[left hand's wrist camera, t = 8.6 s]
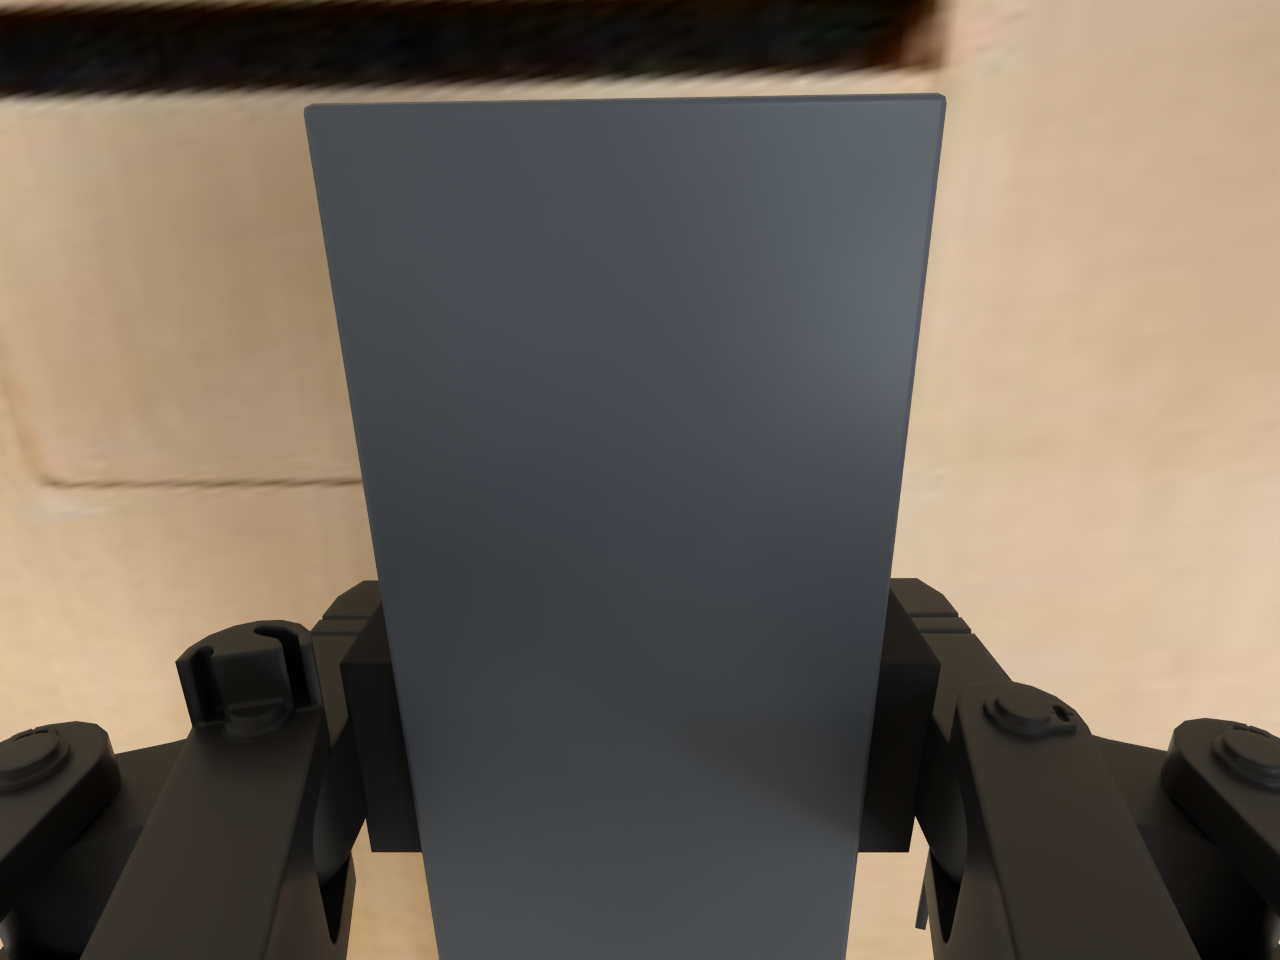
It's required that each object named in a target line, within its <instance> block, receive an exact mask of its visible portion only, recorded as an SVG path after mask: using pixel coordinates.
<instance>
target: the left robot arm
mask: <svg viewBox="0 0 1280 960" xmlns="http://www.w3.org/2000/svg"><path fill="white" fill-rule="evenodd" d="M175 663H176V667H177V670H178V674H179V678H180V682H181V685H182V689H183V693H184V697H185V700H186V704H187V708H188V712H189V715H190V719H191V723H192V729H191V731H190V733H189V735H188V737H187V739H183V740H180V741H176V742H172V743H167V744H162V745H157V746H153V747H148V748H143V749H138V750H133V751H128V752H123V753H119V754H114V752H113V749H112V745H111V742H110V739H109V736H108V733H107V732H106V731H105V730H103V729H102V728H101V727H100V726H98V725H97V724H93V723H86V722H79V721H74V722H66V723H58V724H50V725H45V726H40V727H36V728H35V729H33V730H32V729H29V730H27V731H24V732H21V733H18V734H16V735H14V736H12V737H11V738H9V739H7V740H5V741H2V742H0V938H1V941H2V943H3V945H4V946H3V947H2V948H1V950H0V960H346V956H347V948H348V940H349V932H350V924H351V917H352V909H353V901H354V893H355V885H356V877H355V870H354V863H353V858H352V852H351V849H352V847H353V845H354V843H355V840H356V838H357V836H358V834H359V832H360V829H361V827H362V825H363V823H364V821H365V818H366V822H367V828H368V834H369V839H370V845H371V851H372V852H422V848H421V841H420V835H419V829H418V823H417V817H416V810H415V804H414V798H413V792H412V785H411V779H410V773H409V767H408V760H407V754H406V748H405V742H404V735H403V729H402V723H401V717H400V710H399V704H398V698H397V692H396V685H395V679H394V673H393V667H392V660H391V654H390V648H389V642H388V636H387V629H386V623H385V617H384V611H383V604H382V598H381V592H380V586H379V581H362V582H361V583H359V584H358V585H356V586H354V587H353V588H351V589H350V590H348V591H346V592H345V593H343V594H342V595H340V596H338V597H337V599H336V600H335V601H334V602H333V604H332V605H331V606H330V607H329V609H328V610H327V611H326V612H325V614H324V615H323V619H322V620H319V621H318V622H317V624H316V625H315V626H314V628H313V629H312V630H311V631H309V630H307V629H306V628H305V627H304V626H302V625H301V624H298V623H294V622H289V621H285V620H267V621H256V622H251V623H246V624H241V625H236V626H233V627H230V628H227V629H225V630H222V631H219V632H217V633H214V634H212V635H209V636H207V637H206V638H204V639H202V640H201V641H199V642H197V643H196V644H194V645H192V646H191V647H189V648H188V649H187V650H186V651H185V652H184V653H183V654H182V655H181V656H180V657H179V659H178V660H177V661H176V662H175ZM915 816H916V818H917V820H918V823H919V825H920V827H921V829H922V831H923V833H924V836H925V838H926V840H927V842H928V844H929V852H928V858H927V863H926V868H925V874H924V879H923V885H922V890H921V895H920V901H919V906H918V911H917V919H916V926H915V928H919V929H923V930H925V929H926V924H927V918H928V915H929V923H930V931H931V939H932V946H933V954H934V960H1280V945H1279V943H1278V942H1279V940H1280V738H1278V737H1276V736H1274V735H1272V734H1270V733H1269V732H1267V731H1265V730H1262V729H1259V728H1256V727H1253V726H1247V725H1246V724H1243V723H1238V722H1234V721H1226V720H1218V719H1210V718H1202V719H1194V720H1187V721H1184V722H1183V723H1182V724H1180V725H1179V726H1178V727H1177V728H1175V729H1174V732H1173V735H1172V738H1171V741H1170V744H1169V747H1168V751H1163V750H1158V749H1153V748H1148V747H1144V746H1139V745H1134V744H1129V743H1124V742H1119V741H1114V740H1109V739H1105V738H1102V737H1098V736H1094V735H1092V734H1091V732H1090V730H1089V728H1088V726H1087V724H1086V723H1085V722H1084V721H1083V719H1082V718H1081V717H1080V716H1079V714H1078V713H1077V712H1076V710H1074V709H1073V708H1071V707H1070V706H1069V705H1067V704H1066V703H1064V702H1063V701H1061V700H1060V699H1059V698H1057V697H1056V696H1053V695H1051V694H1049V693H1047V692H1044V691H1042V690H1040V689H1038V688H1035V687H1033V686H1029V685H1025V684H1021V683H1017V682H1013V681H1012V680H1011V679H1010V678H1009V676H1008V675H1007V674H1006V673H1005V671H1004V670H1003V669H1002V668H1001V666H1000V665H999V664H998V663H997V661H996V660H995V659H994V658H993V656H992V655H991V654H990V653H989V651H988V650H987V649H986V648H985V646H984V645H983V644H982V643H981V641H980V640H979V639H978V638H977V636H976V635H975V634H971V629H970V628H969V626H968V625H967V624H966V623H965V621H964V620H963V619H962V618H961V617H958V613H957V611H956V610H955V609H954V608H953V606H952V605H951V604H950V603H949V601H948V600H947V599H946V598H945V596H944V595H943V594H941V593H940V592H938V591H937V590H935V589H933V588H932V587H930V586H928V585H927V584H925V583H924V582H922V581H920V580H919V579H917V578H890V585H889V594H888V602H887V611H886V619H885V628H884V636H883V644H882V653H881V661H880V670H879V678H878V687H877V695H876V704H875V712H874V721H873V729H872V737H871V746H870V754H869V763H868V771H867V780H866V788H865V797H864V805H863V814H862V822H861V831H860V839H859V847H858V852H909V848H910V842H911V836H912V831H913V825H914V819H915Z"/></svg>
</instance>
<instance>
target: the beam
mask: <svg viewBox="0 0 1280 960" xmlns="http://www.w3.org/2000/svg"><path fill="white" fill-rule="evenodd" d="M945 112H946V98H945V96H943V95H941V94H939V93H907V94H850V95H793V96H735V97H678V98H621V99H563V100H506V101H449V102H392V103H334V104H311V105H309V106H307V107H305V110H304V117H305V124H306V130H307V136H308V142H309V149H310V155H311V161H312V167H313V174H314V180H315V186H316V192H317V199H318V205H319V211H320V217H321V224H322V230H323V236H324V242H325V249H326V255H327V261H328V267H329V274H330V280H331V286H332V292H333V298H334V305H335V311H336V317H337V323H338V330H339V336H340V342H341V348H342V355H343V361H344V367H345V373H346V380H347V386H348V392H349V398H350V405H351V411H352V417H353V423H354V430H355V436H356V442H357V448H358V455H359V461H360V467H361V473H362V479H363V486H364V492H365V498H366V504H367V511H368V517H369V523H370V529H371V536H372V542H373V548H374V554H375V561H376V567H377V573H378V579H379V586H380V592H381V598H382V604H383V611H384V617H385V623H386V629H387V636H388V642H389V648H390V654H391V660H392V667H393V673H394V679H395V685H396V692H397V698H398V704H399V710H400V717H401V723H402V729H403V735H404V742H405V748H406V754H407V760H408V767H409V773H410V779H411V785H412V792H413V798H414V804H415V810H416V817H417V823H418V829H419V835H420V841H421V848H422V854H423V860H424V866H425V873H426V879H427V885H428V891H429V898H430V904H431V910H432V916H433V923H434V929H435V935H436V941H437V948H438V954H439V960H845V957H846V949H847V940H848V932H849V924H850V915H851V907H852V898H853V890H854V881H855V873H856V864H857V856H858V847H859V839H860V831H861V822H862V814H863V805H864V797H865V788H866V780H867V771H868V763H869V754H870V746H871V737H872V729H873V721H874V712H875V704H876V695H877V687H878V678H879V670H880V661H881V653H882V644H883V636H884V628H885V619H886V611H887V602H888V594H889V585H890V577H891V568H892V560H893V551H894V543H895V535H896V526H897V518H898V509H899V501H900V492H901V484H902V475H903V467H904V458H905V450H906V442H907V433H908V425H909V416H910V408H911V399H912V391H913V382H914V374H915V365H916V357H917V348H918V340H919V332H920V323H921V315H922V306H923V298H924V289H925V281H926V272H927V264H928V255H929V247H930V239H931V230H932V222H933V213H934V205H935V196H936V188H937V179H938V171H939V162H940V154H941V146H942V137H943V129H944V120H945Z"/></svg>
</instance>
